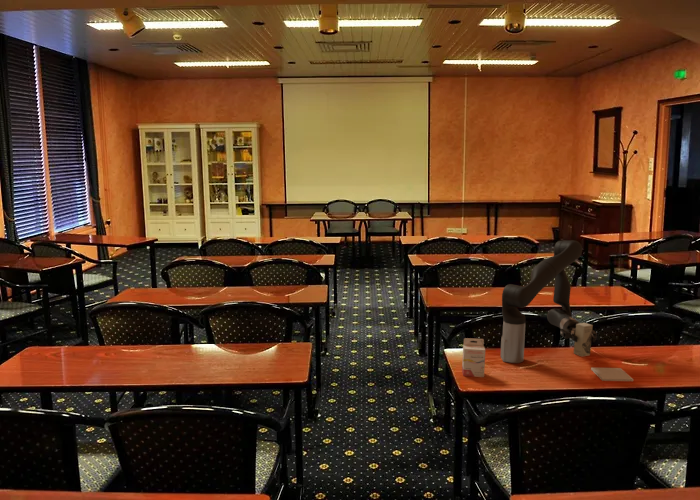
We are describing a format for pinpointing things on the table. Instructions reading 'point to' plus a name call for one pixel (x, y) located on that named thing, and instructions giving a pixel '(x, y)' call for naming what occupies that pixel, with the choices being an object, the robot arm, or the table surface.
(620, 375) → the board
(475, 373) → the ink cartridge box
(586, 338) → the box
